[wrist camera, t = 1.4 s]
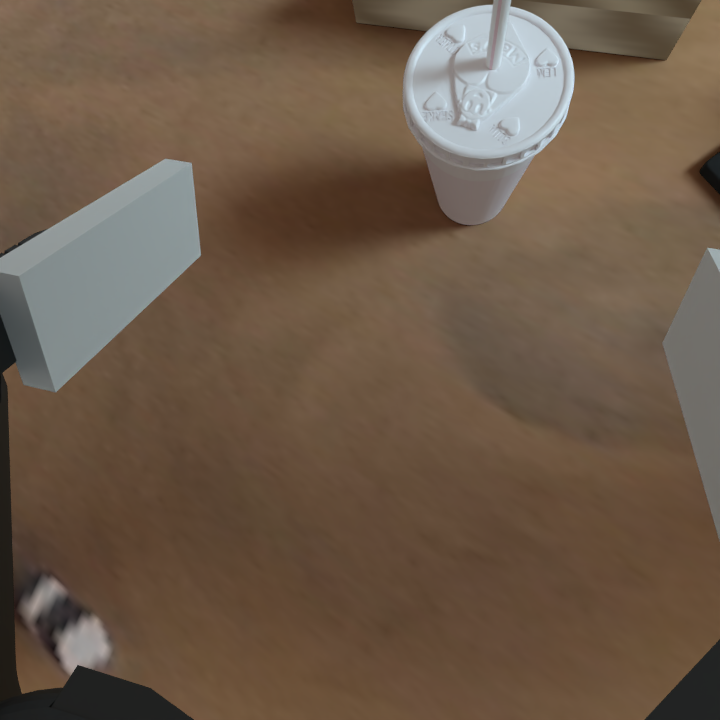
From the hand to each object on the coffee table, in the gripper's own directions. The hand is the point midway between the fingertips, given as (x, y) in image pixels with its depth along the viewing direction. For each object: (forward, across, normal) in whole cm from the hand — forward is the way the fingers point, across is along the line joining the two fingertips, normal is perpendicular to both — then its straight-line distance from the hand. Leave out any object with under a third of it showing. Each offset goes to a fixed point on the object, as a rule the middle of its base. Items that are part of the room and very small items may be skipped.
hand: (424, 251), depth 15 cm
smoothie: (+17, 0, -5) cm, 18 cm away
